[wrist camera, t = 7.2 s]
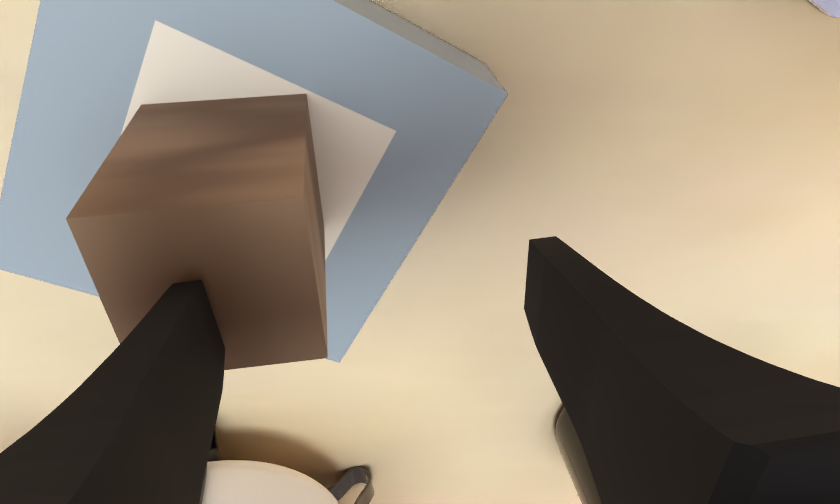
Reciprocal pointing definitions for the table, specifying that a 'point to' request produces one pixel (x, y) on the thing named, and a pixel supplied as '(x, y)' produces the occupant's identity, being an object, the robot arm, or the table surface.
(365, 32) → the slate plinth
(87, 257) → the walnut block
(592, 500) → the supplement bottle
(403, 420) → the table surface
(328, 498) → the coffee press
